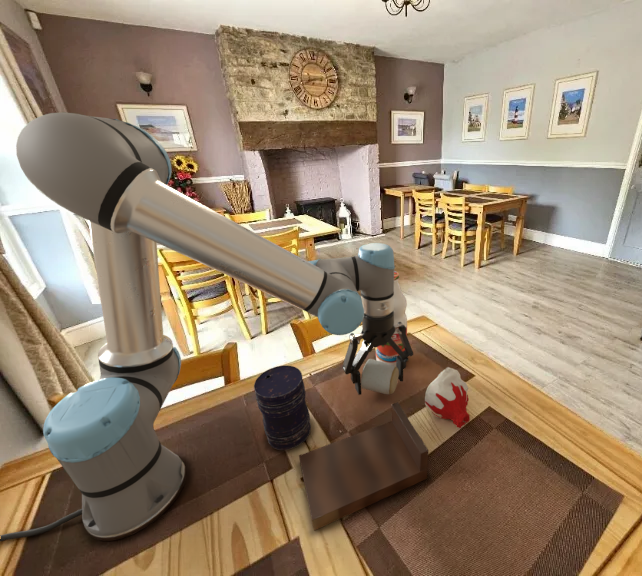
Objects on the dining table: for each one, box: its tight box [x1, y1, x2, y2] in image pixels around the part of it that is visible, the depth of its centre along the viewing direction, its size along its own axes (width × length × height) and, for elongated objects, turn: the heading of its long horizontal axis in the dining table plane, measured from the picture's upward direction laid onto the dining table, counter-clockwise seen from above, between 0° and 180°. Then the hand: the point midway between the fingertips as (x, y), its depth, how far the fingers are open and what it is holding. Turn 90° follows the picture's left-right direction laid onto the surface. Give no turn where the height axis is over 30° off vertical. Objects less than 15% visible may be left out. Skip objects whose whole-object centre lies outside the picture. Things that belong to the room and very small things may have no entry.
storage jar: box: [253, 364, 312, 451], centre depth 68 cm, size 10×10×15 cm
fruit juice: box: [374, 270, 408, 366], centre depth 88 cm, size 9×9×28 cm
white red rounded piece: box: [424, 366, 471, 429], centre depth 73 cm, size 9×11×15 cm
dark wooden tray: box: [298, 402, 429, 531], centre depth 60 cm, size 22×13×8 cm, turn 113°
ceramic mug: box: [361, 358, 399, 395], centre depth 80 cm, size 11×8×8 cm
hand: (379, 384), depth 81 cm, fingers closed on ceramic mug, 11 cm apart
